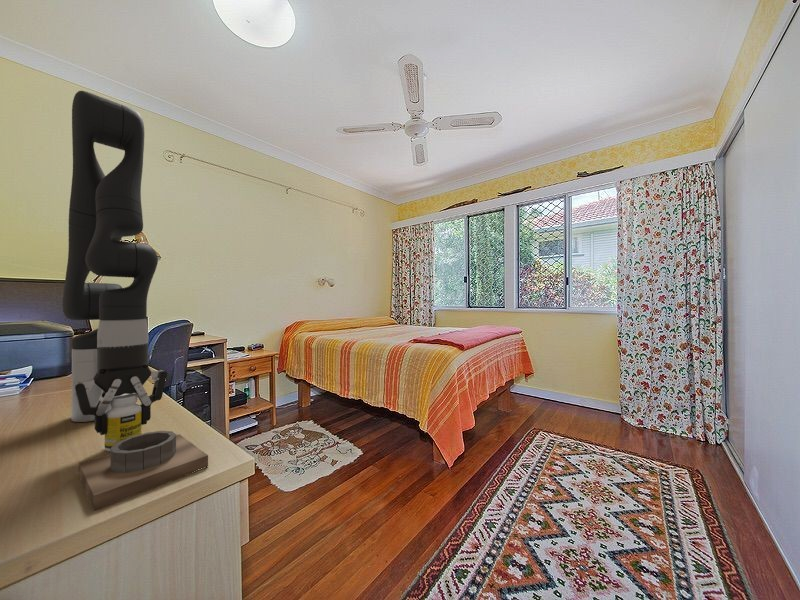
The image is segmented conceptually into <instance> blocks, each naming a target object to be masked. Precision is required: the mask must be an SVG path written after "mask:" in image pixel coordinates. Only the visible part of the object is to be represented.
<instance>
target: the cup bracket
mask: <svg viewBox="0 0 800 600" xmlns="http://www.w3.org/2000/svg"><path fill="white" fill-rule="evenodd" d="M109 452H110V453H109V454H106V455H102V456H100V457H95V458H92V459H88V460H85V461H82V462H79V463H78V478H79V479H80V483H82V486H83V488H84V491H85V493H86V495H87V497H88V500H89V502H90V505H91V507H92V509H93V511H96V510H99V509H102V508H105V507H107V506H109V505H113V504H115V503H118V502H120V501H122V500H126V499H127V498H130V497H133V496H135V495H138V494H141V493H144V492H146V491H149V490H152V489H154V488H157V487H159V486H162V485H165V484H168V483H170V482H173V481H175V480H177V479H178V480H179V479H180V478H183V477H185V475H186V476H188V475H190V473H191V474H193V473H192V472H194V471H196V470H198V469H201V468H203V467H206V466H208V467H209V454H207V453H206V452H205V451H204V450H202V449H200V448H199V447H197V445H195V444H194V443H192V442H191V441H189V440H188V439H187V438H186V437H184V436H183V435H181V434H177V433H175V432H174V431H172V430H171V431H170V430H168V431H167V430H158V431H157V430H156V431H155V430H154V431H148V432H144V433H143V432H142V433H141V434H139V435H136V436H132V437H129V438H127V439H124V440H122V441H120V442H117V443H116V444H115V445H114V446H113V447H111V448H110V451H109ZM201 470H202V469H201ZM196 472H197V471H196ZM194 473H195V472H194ZM187 474H188V475H187Z"/></svg>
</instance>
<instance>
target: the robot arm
mask: <svg viewBox="0 0 800 600" xmlns="http://www.w3.org/2000/svg"><path fill="white" fill-rule="evenodd" d="M71 136H72V137H71V138H72V139H71V143H72V178H71V187H70V188H71V189H70V198H69V209H68V253H67V254H68V255H67V265H66V272H65V280H64V285H63V294H62V311H63V315H64V316H65V317H66V319H67V320H69V321H96V320H97V321H98V327H97V328H95V329H93V330H91V331H89V332H85V333H82V334H79V335H76V336H74V337H73V338H72V339H71V405H70V406H71V412H70V413H71V414H70V415H71V418H70V420H71V421H72V422H75V423H85V422H94V430H95V432H96V433H97V434H99V435H100V436H105V434H106V420H107V415H106V414H105V413H106V412H107V410H109V409H110V408H112V406H111V404H110V403H111V401H112V399H113V397H115V396H120V395H123V394H137V399H138V400H139V402H140V403H141V404H139V405H140V406H141V408H142V422H141V426H144V425H147V423H148V421H150V420H151V416H152V415H151V411H152V410H151V409H152V408H151V406H152V404H153V403H155V402H157V401H160V400H162V398H163V393H164V391H165V390H164V389H165V385H166V381H167V376H168V372H167V371H166V370H163V369H159V370H151V369H150V367H149V340H150V337H149V328H148V327H149V326H148V319H147V316H148V315H147V314H148V313H147V312H148V311H147V309H148V308H147V306H148V304H147V302H148V294H149V291H150V287H151V284H152V280H153V278H154V275H155V273H156V270H157V266H158V262H159V259H158V255H157V252H156V250H155V249H154V248H153V247H152V246H150V245H149V244H146V243H139V242H131V241H129V242H128V241H121V240H122V239H123V238H125V237H133V236H138V235H140V234H141V233H142V232H143V230H144V216H143V207H142V193H141V191H142V190H141V189H142V177H143V169H144V167H143V166H144V153H145V125H144V119H143V117H142V115H141V114H140V113H139V112H138V111H137V110H135V109H133V108H131V107H129V106H126V105H123V104H121V103H118V102H115V101H113V100H110V99H108V98H104V97H102V96H99V95H97V94H94V93H92V92H88V91H85V90H78V91H77V92H76V93H75V94H74V96H73V100H72V107H71ZM94 143H97V144H100V145H103V146H106V147H111V148H114V149H117V150H121V151H124V155H123V158H122V160H121V161H120V162H119V164H117V165H116V166H115V167H114V169H112V170H111V171H110V172H108V174H106V175H105V173H104V171H103V169H102V167H101V166H100V163H99V161H98V159H97V156H96V153H95V146H94ZM90 272H91V273H92V274H94V275H96V276H99V277H110V278H111V277H112V278H132V279H133V280H132V283H130V285H129V286H126V287H123V286H122V285H120V284H118V283H108V282H107V283H104V282H101V283H100V282H86V280H87V278H88V276H89V274H90ZM150 377H151V380H152V381H154V384H153V388H152V390H151V391H152V392H151V394H150V395H148V393H147V391H146V389H145V387H144V385H145V383H146V382H147V381H148V380H149V378H150Z"/></svg>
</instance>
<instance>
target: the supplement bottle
mask: <svg viewBox="0 0 800 600" xmlns="http://www.w3.org/2000/svg"><path fill="white" fill-rule="evenodd" d="M138 400H139V398H138V397H137V394H135V393H132V394H123V395H120V396H115V397H113V399H112V401H111V403H110V404H111V406H112V408H110V409H109V410H107V412H106V413H105V414H106V415H107V420H106V434H104V451H107V452H110V448H111V447H113V446H114V445H115V444H116V443H117V442H120V441H122V440H124V439H127V438H129V437H132V436H136V435H139V434H142V425H141V422H142V408H141V406H140V405H141V404H138V403H137V402H138Z"/></svg>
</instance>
